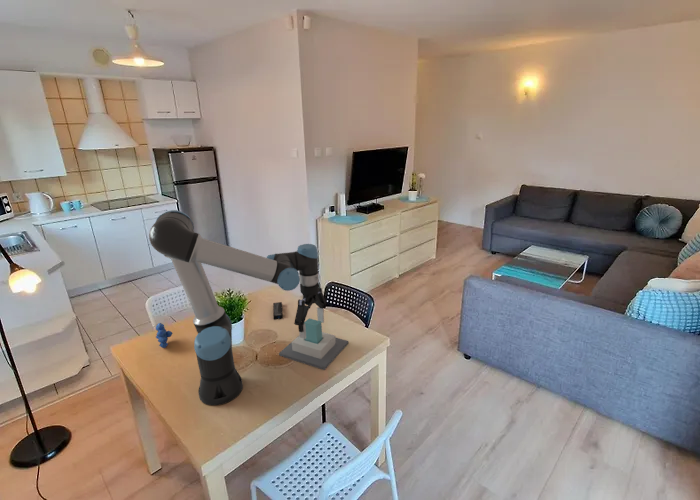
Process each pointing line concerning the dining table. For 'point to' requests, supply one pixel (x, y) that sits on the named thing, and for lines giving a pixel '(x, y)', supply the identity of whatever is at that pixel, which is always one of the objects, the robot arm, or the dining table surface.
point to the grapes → (162, 335)
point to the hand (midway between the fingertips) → (312, 329)
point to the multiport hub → (277, 310)
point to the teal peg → (313, 331)
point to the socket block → (315, 350)
